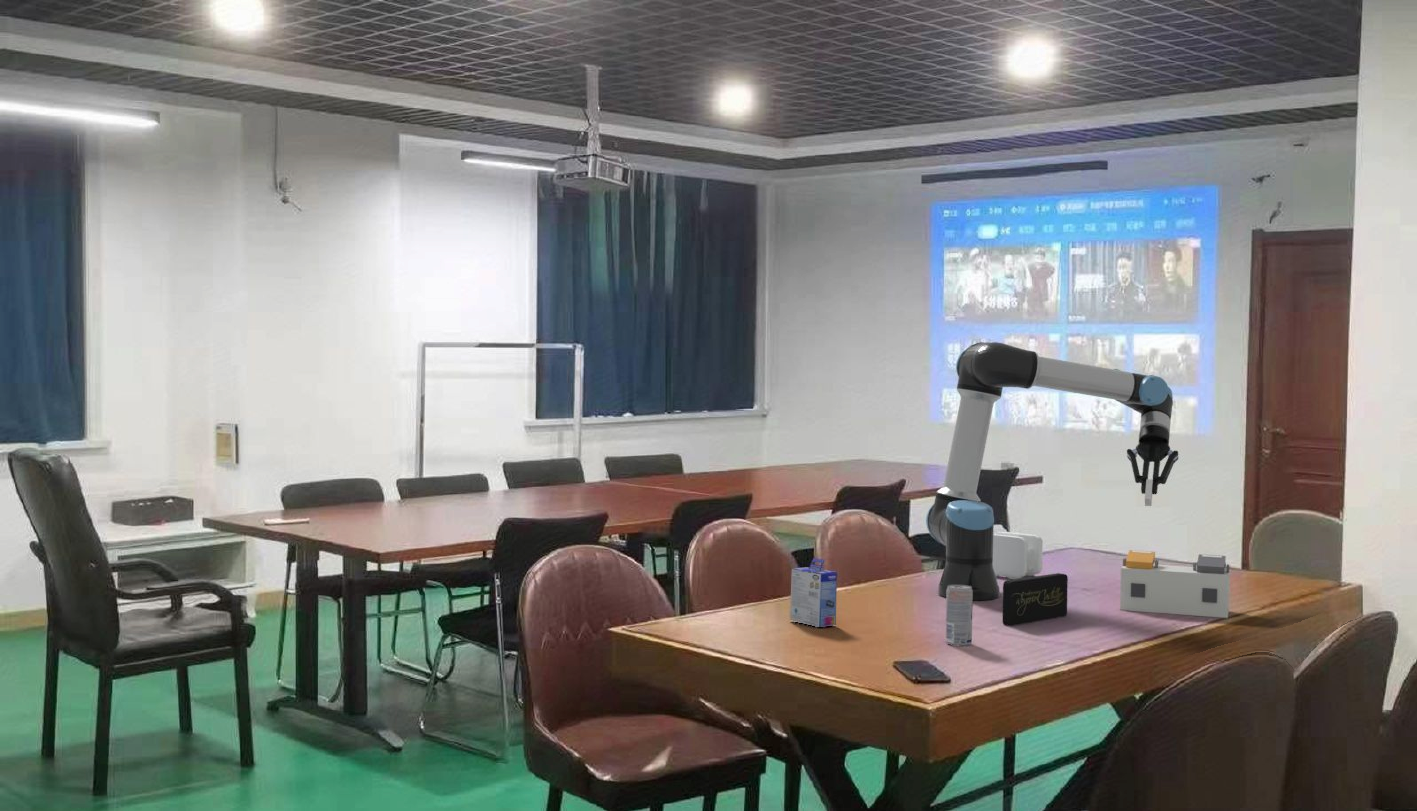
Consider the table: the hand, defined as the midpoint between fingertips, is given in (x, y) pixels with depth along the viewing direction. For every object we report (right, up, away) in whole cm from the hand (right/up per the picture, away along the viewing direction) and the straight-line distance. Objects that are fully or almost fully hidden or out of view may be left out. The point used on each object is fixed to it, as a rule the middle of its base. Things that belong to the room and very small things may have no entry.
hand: (1147, 502), depth 340 cm
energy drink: (-58, -26, -57) cm, 86 cm away
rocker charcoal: (+9, -13, -19) cm, 25 cm away
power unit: (+1, -25, -16) cm, 29 cm away
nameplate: (-36, -25, -30) cm, 53 cm away
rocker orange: (-6, -13, -13) cm, 19 cm away
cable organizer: (-27, -23, +36) cm, 50 cm away
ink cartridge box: (-87, -25, -37) cm, 98 cm away
